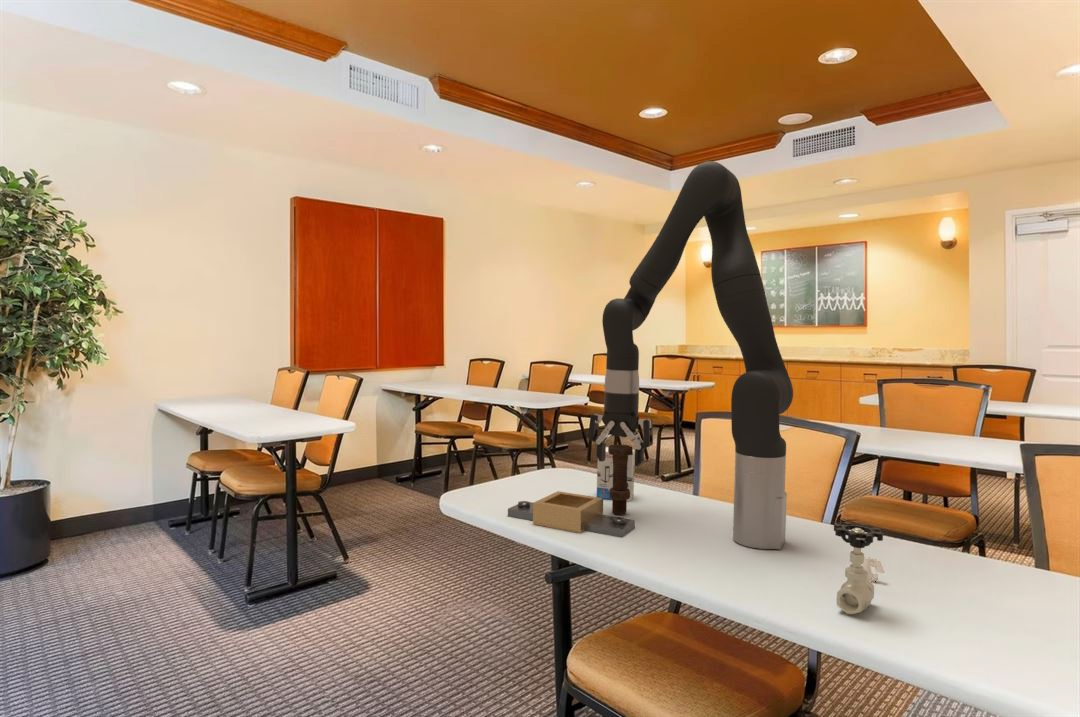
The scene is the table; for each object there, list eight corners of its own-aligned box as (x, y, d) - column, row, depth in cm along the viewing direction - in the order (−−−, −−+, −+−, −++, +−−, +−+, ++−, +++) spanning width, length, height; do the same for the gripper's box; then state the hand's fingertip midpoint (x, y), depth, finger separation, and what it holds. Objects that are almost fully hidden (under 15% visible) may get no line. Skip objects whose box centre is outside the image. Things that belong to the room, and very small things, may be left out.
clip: (884, 583, 102) (885, 560, 101) (880, 586, 100) (881, 563, 100) (853, 573, 105) (853, 551, 105) (848, 576, 104) (849, 554, 104)
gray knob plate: (634, 527, 129) (634, 516, 128) (621, 537, 122) (621, 525, 122) (594, 520, 133) (595, 509, 133) (580, 529, 127) (580, 517, 127)
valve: (885, 608, 92) (888, 528, 92) (873, 623, 87) (876, 539, 87) (838, 595, 97) (840, 518, 96) (824, 609, 92) (826, 528, 91)
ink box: (595, 498, 151) (596, 450, 150) (599, 493, 155) (600, 446, 155) (631, 501, 148) (632, 452, 147) (634, 496, 153) (635, 448, 152)
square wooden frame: (602, 518, 134) (603, 498, 134) (580, 533, 125) (580, 510, 124) (557, 511, 140) (557, 491, 139) (532, 524, 130) (533, 502, 130)
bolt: (632, 517, 135) (633, 449, 135) (609, 517, 135) (610, 448, 135) (629, 510, 141) (630, 444, 140) (606, 509, 141) (607, 443, 141)
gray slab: (555, 513, 138) (555, 502, 138) (539, 522, 132) (539, 510, 131) (524, 508, 142) (524, 497, 141) (507, 516, 136) (507, 505, 135)
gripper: (658, 391, 137) (656, 464, 138) (599, 386, 144) (597, 456, 145) (646, 394, 130) (644, 471, 131) (584, 389, 137) (583, 462, 138)
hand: (619, 463), depth 138 cm, fingers open, 8 cm apart
